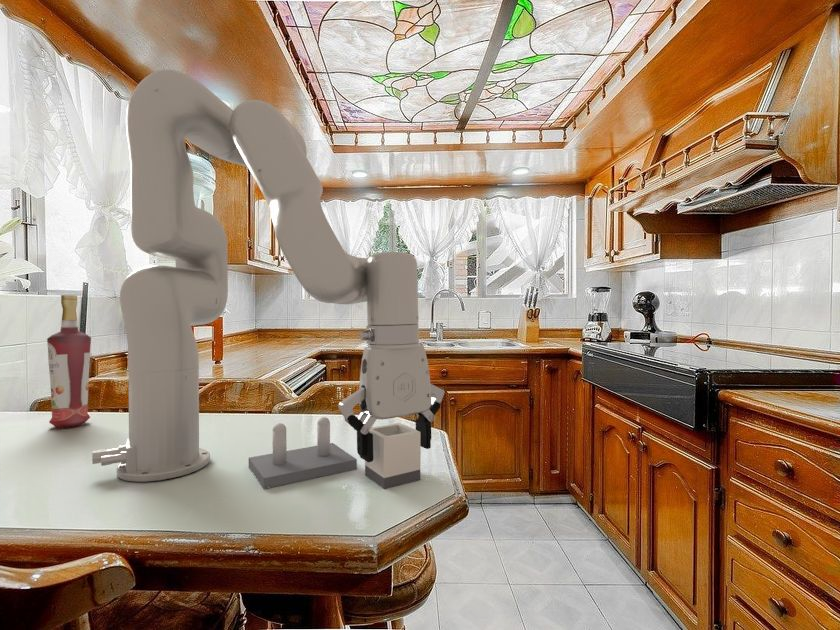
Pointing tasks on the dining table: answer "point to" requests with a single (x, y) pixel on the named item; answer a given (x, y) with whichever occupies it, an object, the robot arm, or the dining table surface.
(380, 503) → the dining table surface
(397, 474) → the sleeve
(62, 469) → the dining table surface
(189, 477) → the dining table surface
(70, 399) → the liquor
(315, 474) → the pin board
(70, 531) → the dining table surface
